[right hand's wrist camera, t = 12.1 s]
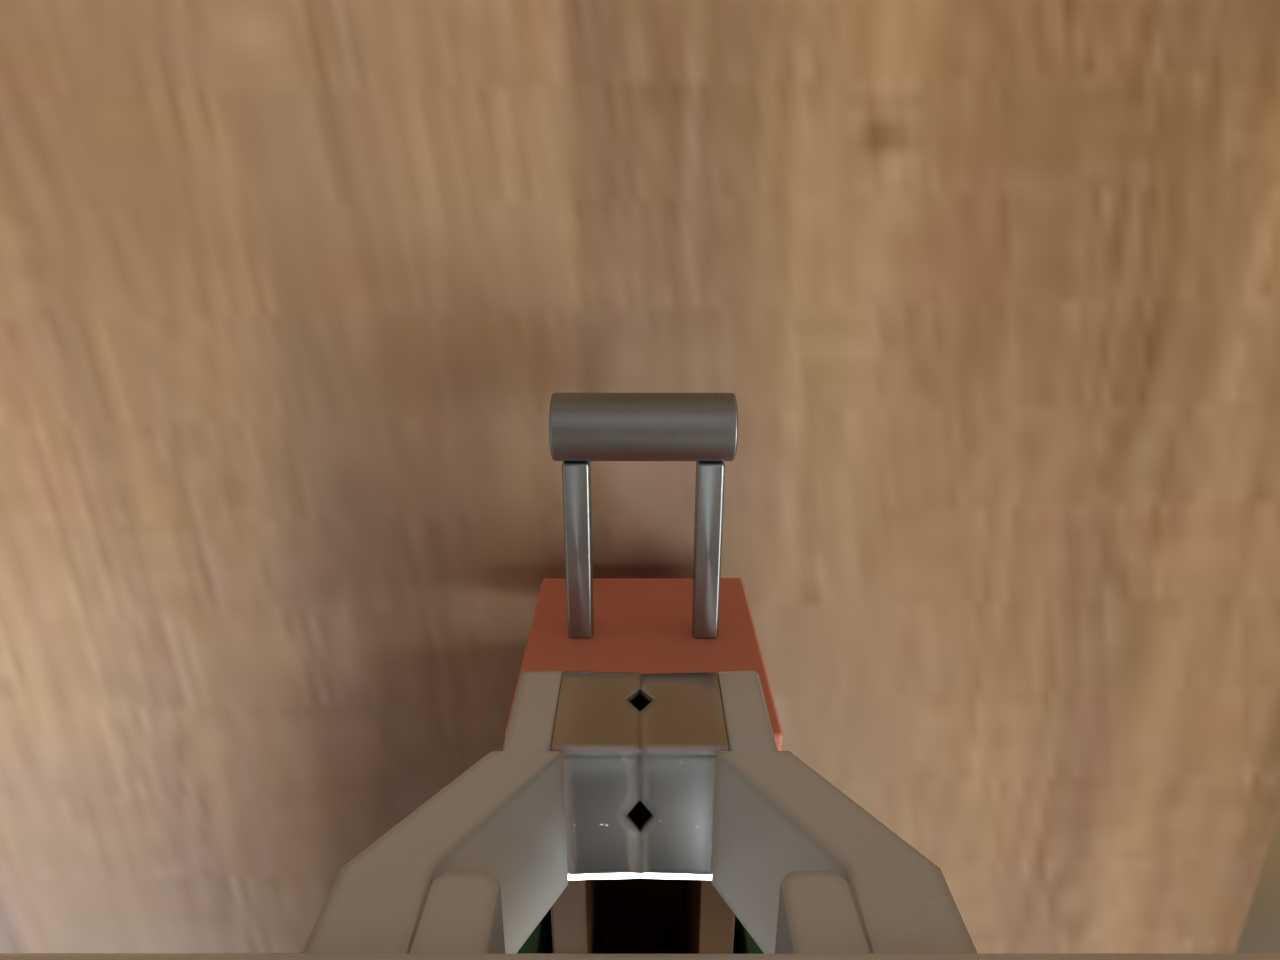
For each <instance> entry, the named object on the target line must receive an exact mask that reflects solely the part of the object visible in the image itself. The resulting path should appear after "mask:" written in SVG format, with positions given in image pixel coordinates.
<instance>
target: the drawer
mask: <svg viewBox="0 0 1280 960" xmlns="http://www.w3.org/2000/svg"><path fill="white" fill-rule="evenodd" d="M549 435H550V449H551V456H552V459H553V460H554V461H563V464H562V475H563V505H564V535H565V564H566V578H545V579H543V580H542V584H541V588H540V592H539V596H538V600H537V604H536V608H535V612H534V616H533V620H532V624H531V629H530V633H529V637H528V641H527V645H526V649H525V653H524V657H523V661H522V665H521V670H520V674H519V678H518V682H517V686H516V690H515V694H514V698H513V702H512V706H511V710H510V715H509V719H508V723H507V727H506V731H505V735H504V737H505V738H506V734H507V730H508V726H509V722H510V718H511V714H512V709H513V705H514V701H515V697H516V693H517V689H518V685H519V681H520V677H521V675H522V674H523V673H524V672H525V671H562V672H563V673H564V671H585V672H634V673H640V674H656V673H700V672H722V671H749V670H755V671H756V672H757V673H758V674H759V678H760V682H761V686H762V690H763V694H764V698H765V702H766V706H767V710H768V714H769V718H770V722H771V726H772V730H773V734H774V738H775V742H776V746H777V750H778V751H782V742H783V734H782V730H781V726H780V722H779V718H778V714H777V711H776V707H775V703H774V699H773V695H772V691H771V688H770V684H769V680H768V676H767V672H766V669H765V665H764V661H763V657H762V653H761V649H760V646H759V642H758V638H757V634H756V630H755V626H754V623H753V619H752V615H751V611H750V607H749V603H748V600H747V596H746V592H745V588H744V584H743V581H742V579H740V578H720V572H721V546H722V521H723V496H724V471H725V465H724V462H723V461H733V460H734V459H735V456H736V451H737V441H738V410H737V401H736V397H735V394H733V393H553V394H552V397H551V402H550V415H549ZM590 461H696V488H695V525H694V563H693V578H593V559H592V511H591V463H590ZM551 925H552V946H553V954H733V944H734V926H735V914H734V913H733V911H732V910H731V909H730V907H729V906H728V905H727V903H726V902H725V901H724V899H723V898H722V897H721V895H720V894H719V893H718V891H717V890H716V889H715V887H714V886H713V885H712V880H682V879H647V878H631V879H597V880H568V885H567V887H566V888H565V889H564V891H563V892H562V893H561V895H560V896H559V897H558V899H557V900H556V901H555V903H554V904H553V905H552V907H551Z"/></svg>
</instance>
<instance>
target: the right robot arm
mask: <svg viewBox="0 0 1280 960" xmlns="http://www.w3.org/2000/svg"><path fill="white" fill-rule="evenodd" d="M631 878H647V879H682V880H712V885H713V886H714V887H715V889H716V890H717V891H718V893H719V894H720V895H721V897H722V898H723V899H724V901H725V902H726V903H727V905H728V906H729V907H730V909H731V910H732V911H733V913H734V914H735V915H736V917H737V918H738V919H739V921H740V922H741V923H742V925H743V926H744V927H745V929H746V930H747V931H748V933H749V934H750V935H751V937H752V938H753V939H754V941H755V942H756V944H757V945H758V946H759V948H760V949H761V950H762V952H763V953H764V954H516V953H517V952H518V951H519V949H520V948H521V947H522V945H523V944H524V943H525V941H526V940H527V939H528V937H529V936H530V935H531V933H532V932H533V931H534V929H535V928H536V927H537V925H538V924H539V923H540V921H541V920H542V919H543V917H544V916H545V915H546V913H547V912H548V911H549V909H550V908H551V907H552V905H553V904H554V903H555V901H556V900H557V899H558V897H559V896H560V895H561V893H562V892H563V891H564V889H565V888H566V887H567V885H568V880H597V879H631ZM0 960H1280V954H977V952H976V949H975V947H974V945H973V943H972V940H971V938H970V936H969V933H968V931H967V929H966V927H965V924H964V922H963V920H962V917H961V915H960V913H959V911H958V908H957V906H956V904H955V901H954V899H953V897H952V895H951V892H950V890H949V888H948V885H947V883H946V881H945V879H944V876H943V874H942V872H941V869H940V868H939V867H937V866H936V865H935V864H933V863H932V862H931V861H930V860H928V859H927V858H926V857H924V856H923V855H922V854H921V853H919V852H918V851H917V850H916V849H914V848H913V847H912V846H910V845H909V844H908V843H907V842H905V841H904V840H903V839H901V838H900V837H899V836H898V835H896V834H895V833H894V832H892V831H891V830H890V829H889V828H887V827H886V826H885V825H883V824H882V823H881V822H880V821H878V820H877V819H876V818H874V817H873V816H872V815H871V814H869V813H868V812H867V811H865V810H864V809H863V808H862V807H860V806H859V805H858V804H856V803H855V802H854V801H853V800H851V799H850V798H849V797H847V796H846V795H845V794H844V793H842V792H841V791H840V790H838V789H837V788H836V787H835V786H833V785H832V784H831V783H829V782H828V781H827V780H826V779H824V778H823V777H822V776H820V775H819V774H818V773H817V772H815V771H814V770H813V769H812V768H810V767H809V766H808V765H806V764H805V763H804V762H803V761H801V760H800V759H799V758H797V757H796V756H795V755H794V754H792V753H791V752H789V751H778V750H777V746H776V742H775V738H774V734H773V730H772V726H771V722H770V718H769V714H768V710H767V706H766V702H765V698H764V694H763V690H762V686H761V682H760V678H759V674H758V673H757V672H756V671H755V670H749V671H722V672H700V673H656V674H640V673H634V672H585V671H564V673H563V672H562V671H525V672H524V673H523V674H522V675H521V677H520V681H519V685H518V689H517V693H516V697H515V701H514V705H513V709H512V714H511V718H510V722H509V726H508V730H507V734H506V738H505V742H504V746H503V750H502V751H490V752H489V753H488V754H487V755H485V756H484V757H483V758H481V759H480V760H479V761H477V762H476V763H475V764H474V765H472V766H471V767H470V768H468V769H467V770H466V771H465V772H463V773H462V774H461V775H459V776H458V777H457V778H456V779H454V780H453V781H452V782H450V783H449V784H448V785H447V786H445V787H444V788H443V789H441V790H440V791H439V792H437V793H436V794H435V795H434V796H432V797H431V798H430V799H428V800H427V801H426V802H425V803H423V804H422V805H421V806H419V807H418V808H417V809H416V810H414V811H413V812H412V813H410V814H409V815H408V816H407V817H405V818H404V819H403V820H401V821H400V822H399V823H397V824H396V825H395V826H394V827H392V828H391V829H390V830H388V831H387V832H386V833H385V834H383V835H382V836H381V837H379V838H378V839H377V840H376V841H374V842H373V843H372V844H370V845H369V846H368V847H367V848H365V849H364V850H363V851H361V852H360V853H359V854H357V855H356V856H355V857H354V858H352V859H351V860H350V861H348V862H347V863H346V864H345V865H343V866H342V867H341V868H340V870H339V873H338V875H337V877H336V879H335V882H334V884H333V886H332V888H331V891H330V893H329V895H328V897H327V900H326V902H325V904H324V906H323V909H322V911H321V913H320V915H319V918H318V920H317V922H316V924H315V927H314V929H313V931H312V933H311V936H310V938H309V940H308V942H307V945H306V947H305V949H304V951H303V954H127V953H0Z"/></svg>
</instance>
